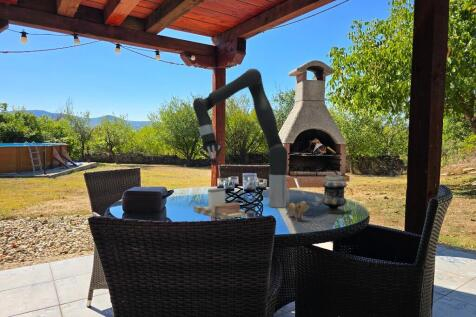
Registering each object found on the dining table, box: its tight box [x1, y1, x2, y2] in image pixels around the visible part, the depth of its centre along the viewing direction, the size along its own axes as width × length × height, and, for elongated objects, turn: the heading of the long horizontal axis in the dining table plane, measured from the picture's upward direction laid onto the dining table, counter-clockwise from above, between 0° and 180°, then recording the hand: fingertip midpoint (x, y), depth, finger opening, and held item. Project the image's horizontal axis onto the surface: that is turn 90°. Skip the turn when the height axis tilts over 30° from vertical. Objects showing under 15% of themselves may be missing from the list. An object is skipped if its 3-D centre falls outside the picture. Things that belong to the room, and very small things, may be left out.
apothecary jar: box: [320, 174, 348, 215], centre depth 169 cm, size 12×12×18 cm
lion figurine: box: [285, 200, 310, 222], centre depth 154 cm, size 15×5×9 cm, turn 28°
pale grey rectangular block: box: [207, 187, 226, 211], centre depth 164 cm, size 3×8×10 cm, turn 133°
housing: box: [193, 201, 246, 220], centre depth 164 cm, size 24×12×6 cm, turn 43°
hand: (214, 165), depth 180 cm, fingers closed
